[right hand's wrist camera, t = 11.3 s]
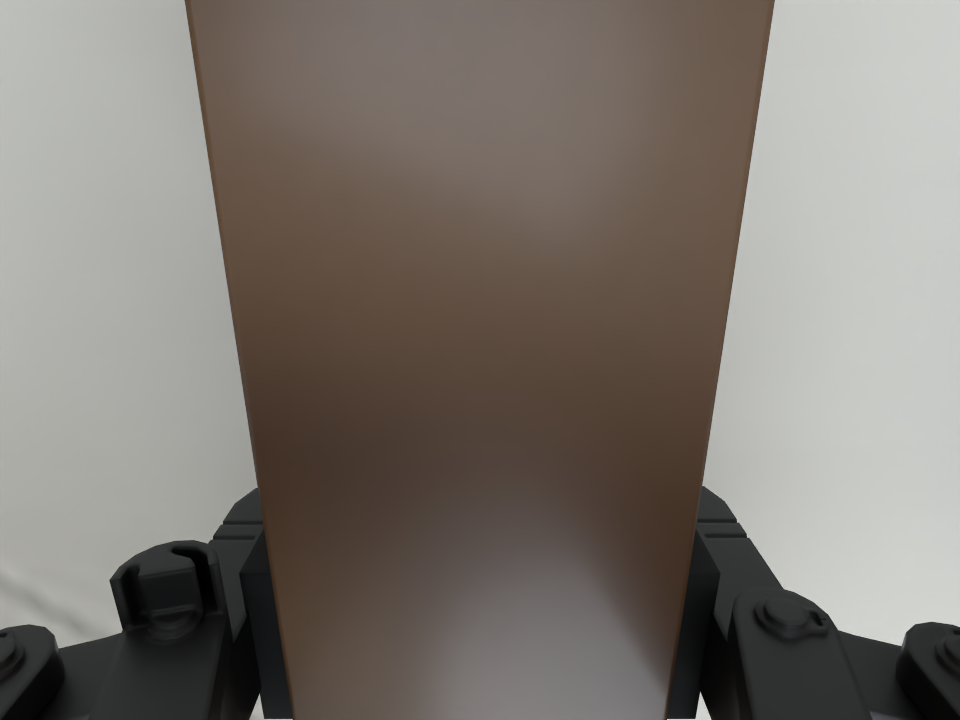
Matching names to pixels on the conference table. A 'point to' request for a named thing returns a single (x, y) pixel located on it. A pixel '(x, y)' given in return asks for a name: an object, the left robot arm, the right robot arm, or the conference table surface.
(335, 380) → the beam
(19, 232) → the conference table surface
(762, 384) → the conference table surface
